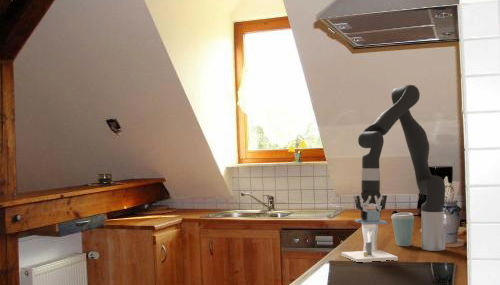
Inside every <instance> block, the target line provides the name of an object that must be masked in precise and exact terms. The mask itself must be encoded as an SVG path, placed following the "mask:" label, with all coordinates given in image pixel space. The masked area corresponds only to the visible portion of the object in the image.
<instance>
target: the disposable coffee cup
mask: <svg viewBox="0 0 500 285" xmlns="http://www.w3.org/2000/svg"><path fill="white" fill-rule="evenodd" d="M390 219H391V221H392V222H391V223H392V228H393V233H394V237H395V238H394V239H395V244H396V246H399V247H409V246H411V245H412V240H413V239H412V238H413V229H414V223H415V222H414V221H415V216H414V213H412V212H397V213H393V214H392V215H391V217H390Z"/></svg>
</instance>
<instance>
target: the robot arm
mask: <svg viewBox="0 0 500 285" xmlns="http://www.w3.org/2000/svg"><path fill="white" fill-rule="evenodd" d="M420 94H421V92H420V91H419V88H418V87H417V86H416V85H414V84H407V85H403V86H399V87H395V88H393V89H392V91H391V101H392V105H391V106H390V107H389V108H387V109H385V111H383V112H382V113H381V114H380V115H379V116H377V118H376V120H375V121H374V123H372V124H370V125H369V126H367V127H366V128H365V129H364V130H362V131H361V132H360V134H359V136H358V138H357V142H358V145H359V146H360V147H361V148H363V149H370V150H369V152H368V153H366V154H364V155H362V158H361V159H362V162H361V163H362V164H361V168H362V169H361V193H360V194H355V195H354V202H355V208H356V210H359V211H360V219H362V220H366V211H365V210H367V208H368V205H369V204H370V205H371V204H373V206H374V208H375V210H376V211H380V218H381V214H382V210H385V209H386V203H387V198H388V196H387V195H386V194H381V192H380V190H381V172H380V158H381V153H382V152H383V151H382V150H383V147H384V142H385V140H384V136H385V135H386V134H388V132H389V131H390V130H391V129H392V128H393V126H394V125H395V124H396V123H397V122H398V120H399V122H400V125H401V128H402V132H403V134H404V138H405V142H406V145H407V149H408V151H409V154H410V158H411V159H410V160H411V163H412V166H413V170H414V175H415V181H416V186H417V189H418V191H419V192H420V193H421V194H422V195H424V196H426V200H425V202H423V203H422V204H421V206H420V209H421V213H420V214H421V221H420V222H421V223H420V224H421V249H422V250H424V251H429V252H430V251H431V252H432V251H433V252H438V251H439V252H441V251H445V250H446V228H445V227H444V210H443V209H444V206H445V203H446V200H445V199H446V185H445V181H444V179H443V178H442V177H441V176H439V175H433V174H432V172H431V170H430V166H429V155H430V143H429V139H428V136H427V133H426V131H425V129H424V128H423V127H422V126H421V124H420V123H419V122H418V120H416V119H415V118H414V116H413V115H412V113H411V111H410V109H411V108H413V107H414V106H415V105H416V104H417V103H418V101H419V100H420V97H421V95H420ZM361 200H362V202H361ZM379 200H380V201H379Z"/></svg>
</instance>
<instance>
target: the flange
mask: <svg viewBox="0 0 500 285" xmlns="http://www.w3.org/2000/svg"><path fill="white" fill-rule="evenodd" d="M365 211H366V220H362V219H361V218H359V219H358V218H355V219H354V222H355V223H358V224H359V223H360V224H361V225H362V224H364V225H369V224H378V225H388V221H387V220H382V219H381V217H380V211H376V209H366V210H365Z"/></svg>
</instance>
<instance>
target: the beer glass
mask: <svg viewBox="0 0 500 285" xmlns="http://www.w3.org/2000/svg"><path fill="white" fill-rule="evenodd" d="M378 226H379V224H369V225H364V224H361V232H362V237H363V248H362V251H366V242H372V251H374V250H378V248H377V237H378V229H379V227H378Z"/></svg>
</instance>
